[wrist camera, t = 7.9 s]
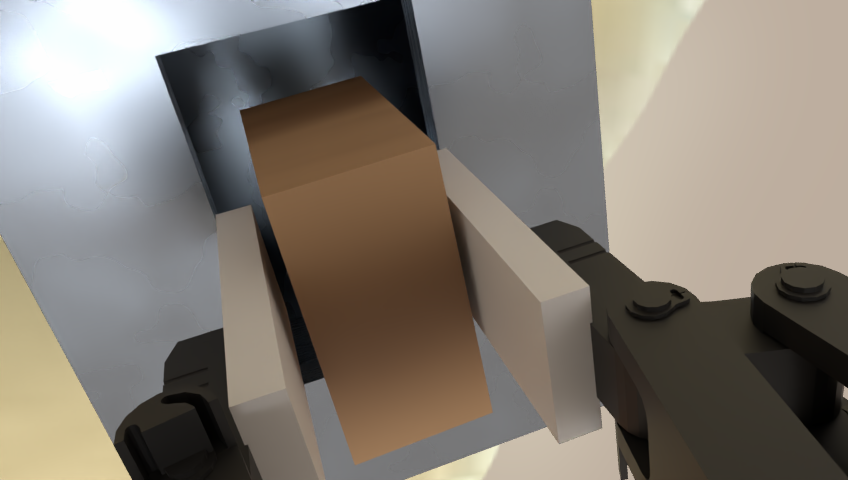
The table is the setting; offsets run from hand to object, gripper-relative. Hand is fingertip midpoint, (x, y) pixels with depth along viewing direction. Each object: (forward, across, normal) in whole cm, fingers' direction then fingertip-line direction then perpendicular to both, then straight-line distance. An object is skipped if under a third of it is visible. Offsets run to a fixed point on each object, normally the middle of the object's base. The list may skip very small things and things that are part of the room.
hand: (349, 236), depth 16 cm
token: (+3, 0, 0) cm, 3 cm away
